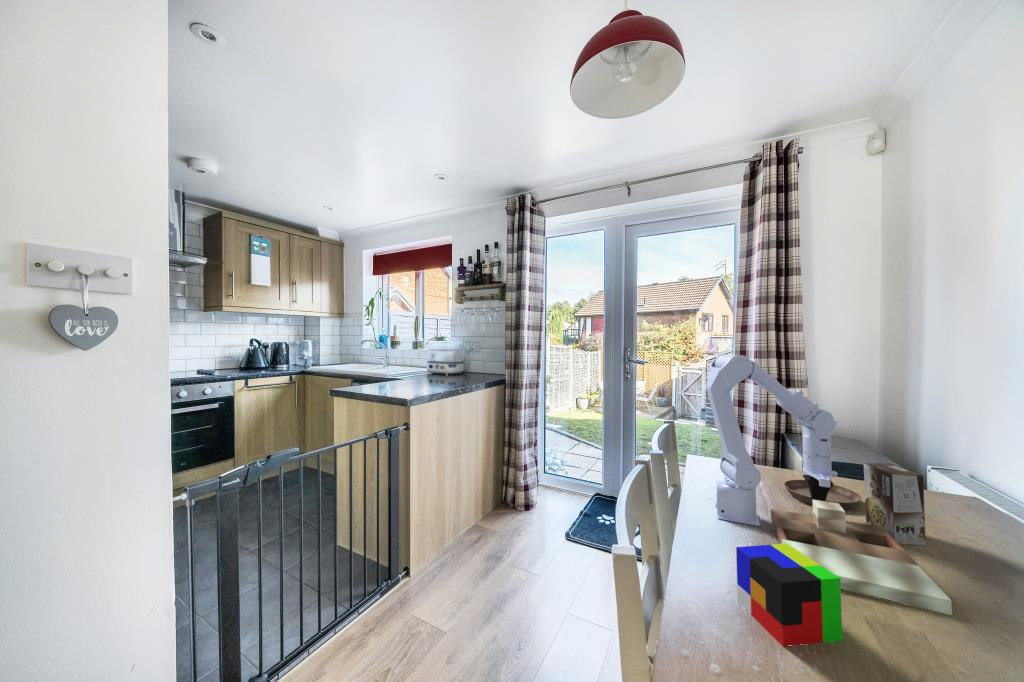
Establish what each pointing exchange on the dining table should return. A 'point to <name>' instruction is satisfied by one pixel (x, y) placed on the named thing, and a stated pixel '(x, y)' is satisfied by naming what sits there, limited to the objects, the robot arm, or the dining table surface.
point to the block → (829, 516)
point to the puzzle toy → (789, 594)
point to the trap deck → (862, 560)
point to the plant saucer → (834, 495)
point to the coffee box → (895, 502)
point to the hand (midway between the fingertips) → (818, 505)
